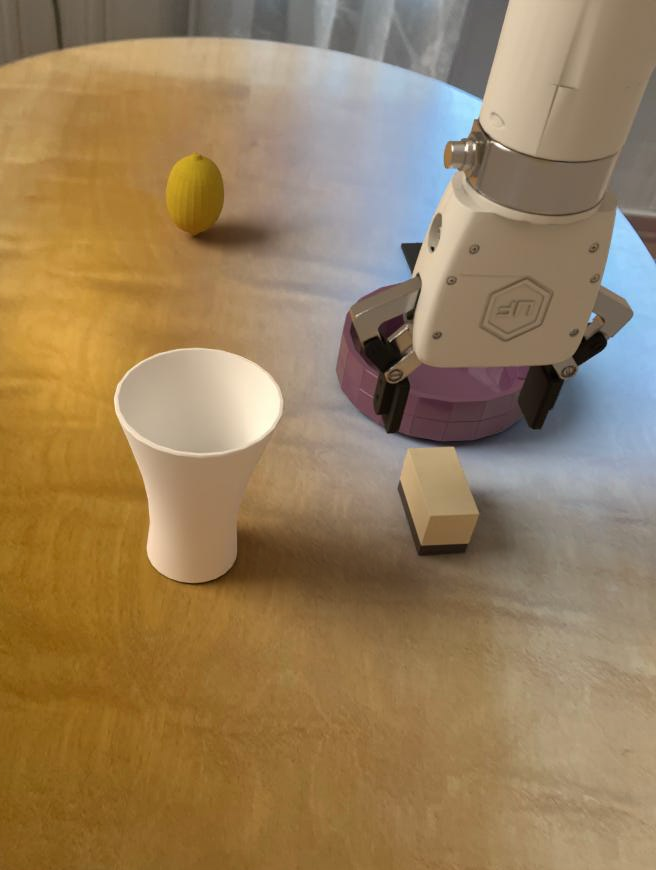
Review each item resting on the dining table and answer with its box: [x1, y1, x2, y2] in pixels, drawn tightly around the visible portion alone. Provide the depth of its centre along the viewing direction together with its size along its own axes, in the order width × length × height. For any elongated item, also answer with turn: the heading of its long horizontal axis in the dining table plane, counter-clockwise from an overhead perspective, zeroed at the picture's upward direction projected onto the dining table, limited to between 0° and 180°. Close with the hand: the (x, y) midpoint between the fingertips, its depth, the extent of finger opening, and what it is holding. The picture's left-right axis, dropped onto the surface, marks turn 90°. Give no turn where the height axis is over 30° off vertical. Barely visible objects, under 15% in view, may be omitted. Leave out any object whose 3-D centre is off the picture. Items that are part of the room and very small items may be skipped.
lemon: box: [165, 151, 225, 237], centre depth 95 cm, size 6×6×8 cm
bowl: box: [335, 281, 530, 442], centre depth 83 cm, size 16×16×4 cm
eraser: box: [397, 446, 480, 556], centre depth 73 cm, size 4×7×4 cm, turn 5°
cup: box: [113, 347, 285, 584], centre depth 67 cm, size 10×10×14 cm
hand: (458, 418), depth 67 cm, fingers open, 9 cm apart
